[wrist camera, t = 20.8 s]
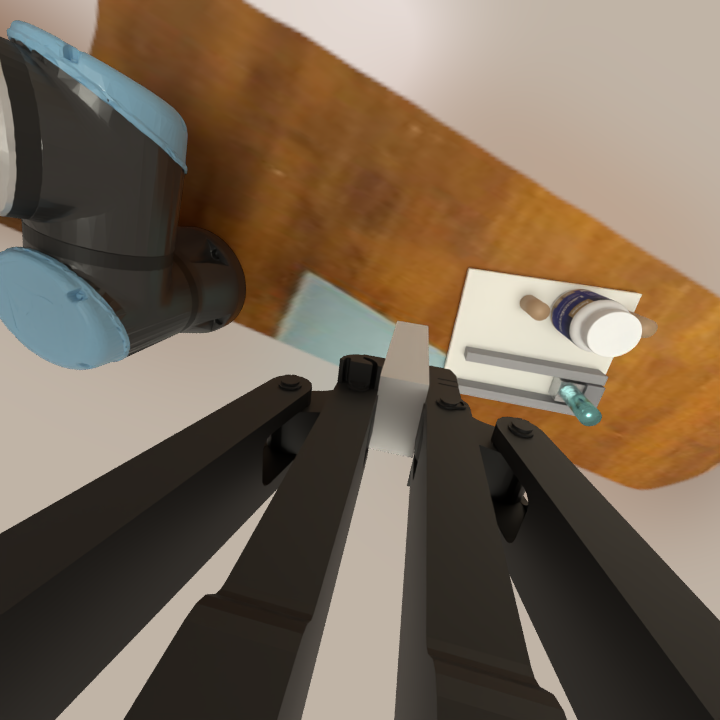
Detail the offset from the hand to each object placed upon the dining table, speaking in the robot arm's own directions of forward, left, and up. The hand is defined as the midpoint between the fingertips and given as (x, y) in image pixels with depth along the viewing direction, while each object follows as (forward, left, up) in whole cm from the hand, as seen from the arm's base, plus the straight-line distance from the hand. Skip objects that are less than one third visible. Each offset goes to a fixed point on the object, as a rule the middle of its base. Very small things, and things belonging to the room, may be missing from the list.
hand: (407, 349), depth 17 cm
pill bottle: (+20, -2, -29) cm, 35 cm away
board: (+16, -6, -30) cm, 35 cm away
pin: (+22, -12, -29) cm, 38 cm away
